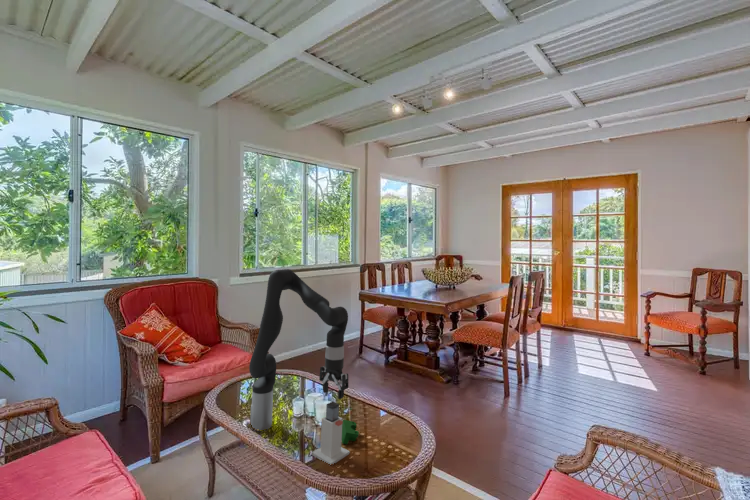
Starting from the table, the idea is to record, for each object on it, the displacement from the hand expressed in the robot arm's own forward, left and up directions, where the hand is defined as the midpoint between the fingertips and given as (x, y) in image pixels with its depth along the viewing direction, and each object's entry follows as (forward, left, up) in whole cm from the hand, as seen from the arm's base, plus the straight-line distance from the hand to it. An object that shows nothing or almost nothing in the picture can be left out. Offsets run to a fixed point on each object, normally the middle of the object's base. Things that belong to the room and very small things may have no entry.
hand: (333, 395), depth 150 cm
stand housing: (0, 0, -25) cm, 25 cm away
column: (0, 0, -24) cm, 24 cm away
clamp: (-2, +14, -25) cm, 29 cm away
